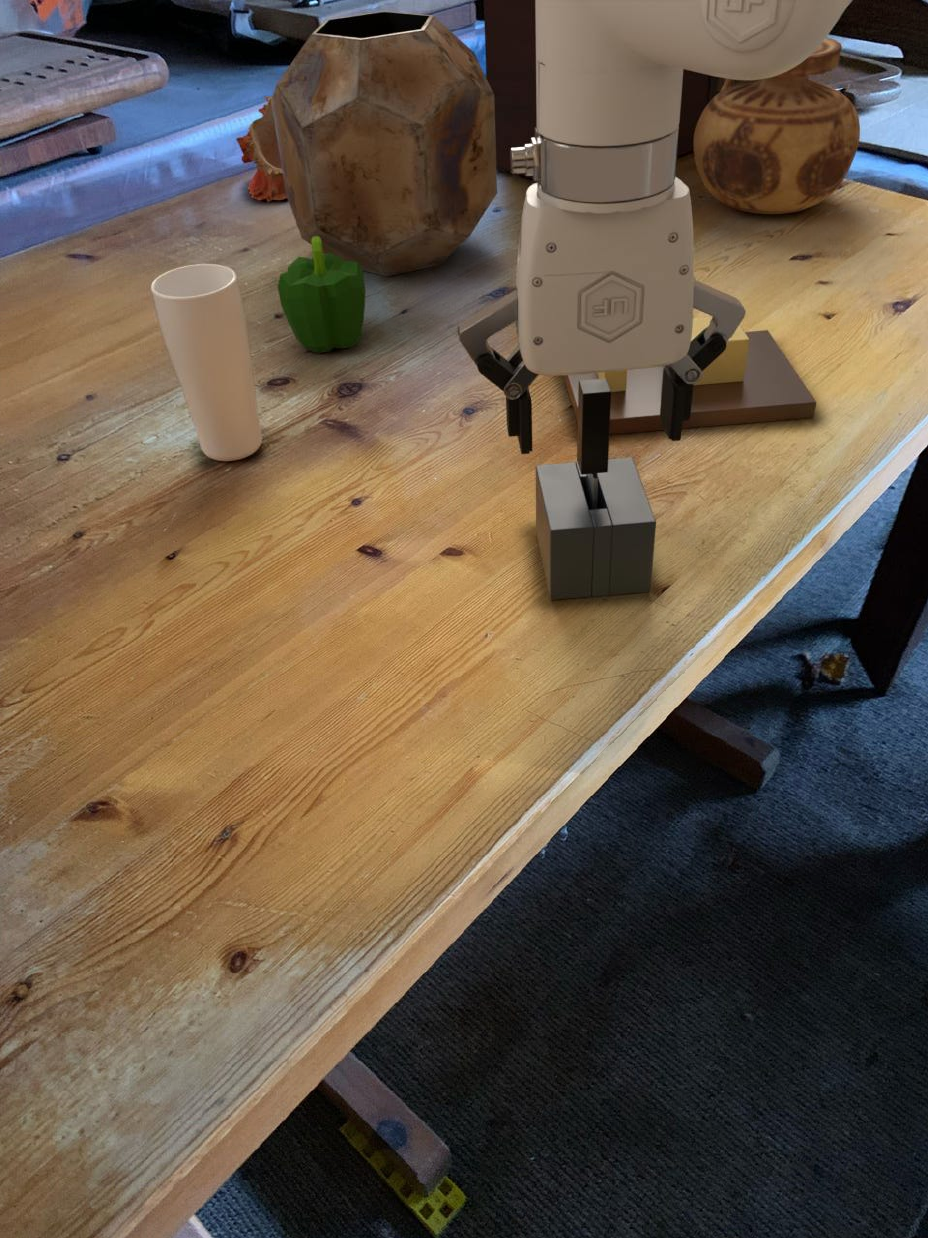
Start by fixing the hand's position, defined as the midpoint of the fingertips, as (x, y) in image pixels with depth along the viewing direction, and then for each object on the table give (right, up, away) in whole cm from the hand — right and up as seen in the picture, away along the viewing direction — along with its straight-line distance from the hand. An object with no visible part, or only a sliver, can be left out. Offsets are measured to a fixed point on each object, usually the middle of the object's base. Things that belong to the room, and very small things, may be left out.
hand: (597, 436), depth 66 cm
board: (+11, +9, +25) cm, 29 cm away
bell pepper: (-22, +16, +36) cm, 45 cm away
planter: (-17, +31, +53) cm, 63 cm away
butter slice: (+4, +10, +24) cm, 26 cm away
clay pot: (+29, +39, +59) cm, 76 cm away
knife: (0, -8, +7) cm, 10 cm away
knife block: (+1, -8, +7) cm, 10 cm away
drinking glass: (-29, +3, +22) cm, 36 cm away
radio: (+10, +53, +76) cm, 93 cm away
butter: (+13, +10, +24) cm, 29 cm away
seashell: (-32, +49, +74) cm, 94 cm away
